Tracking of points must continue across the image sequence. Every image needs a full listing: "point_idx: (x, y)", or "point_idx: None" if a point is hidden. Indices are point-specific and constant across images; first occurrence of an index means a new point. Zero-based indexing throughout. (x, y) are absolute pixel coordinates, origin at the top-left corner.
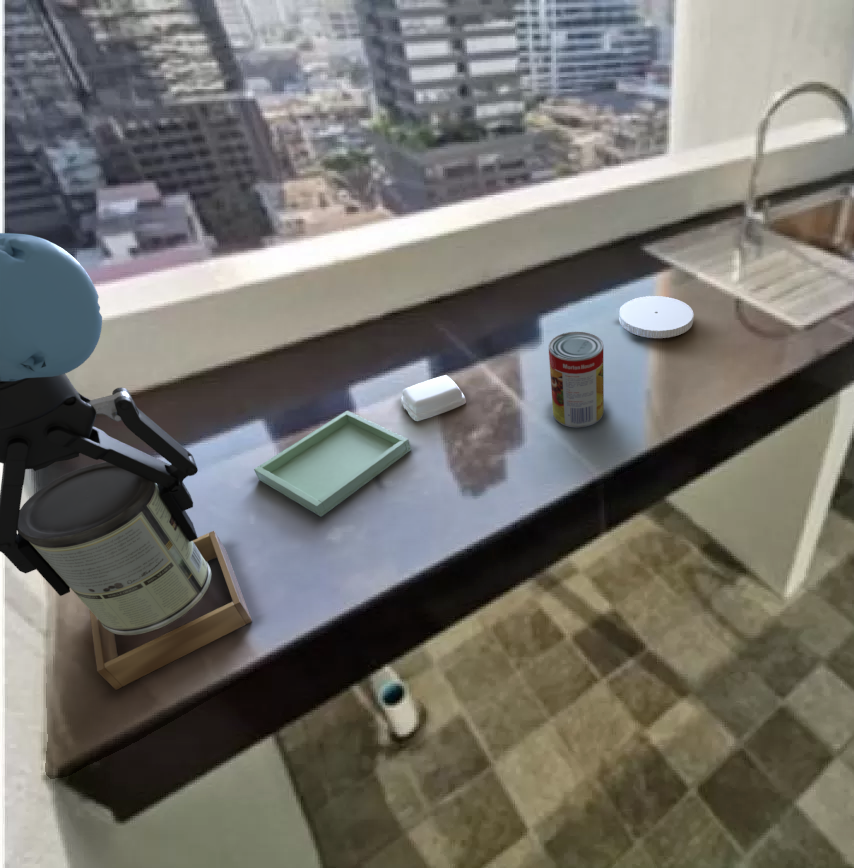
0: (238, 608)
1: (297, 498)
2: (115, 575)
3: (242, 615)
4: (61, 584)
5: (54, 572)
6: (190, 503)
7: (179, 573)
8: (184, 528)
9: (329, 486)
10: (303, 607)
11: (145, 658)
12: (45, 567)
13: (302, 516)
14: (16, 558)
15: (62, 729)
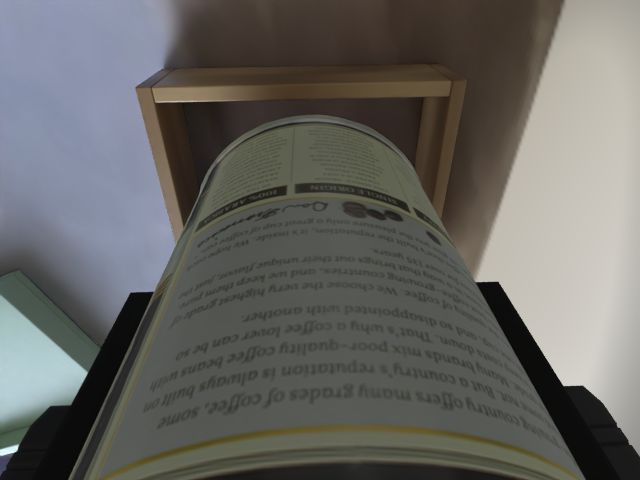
0: (152, 82)
1: (58, 329)
2: (347, 237)
3: (163, 76)
4: (492, 309)
5: None
6: (38, 426)
7: (206, 201)
8: (125, 337)
9: (2, 329)
10: (36, 31)
11: (373, 74)
12: (536, 381)
13: (61, 289)
14: (622, 460)
15: (544, 28)
